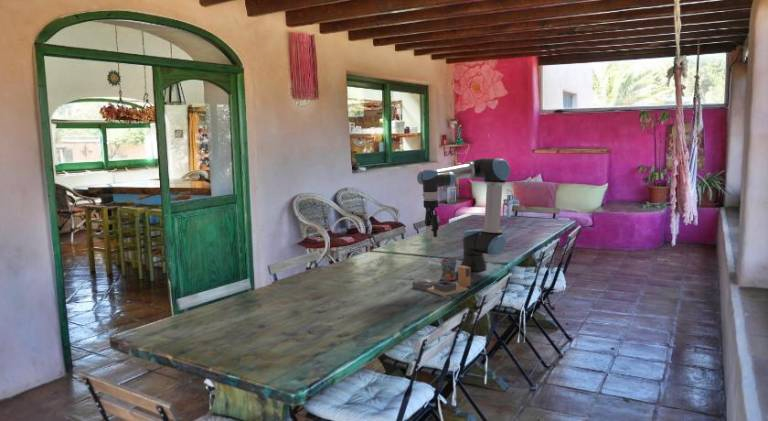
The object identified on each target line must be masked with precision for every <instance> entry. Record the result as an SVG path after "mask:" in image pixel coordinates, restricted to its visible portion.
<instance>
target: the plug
mask: <svg viewBox="0 0 768 421" xmlns="http://www.w3.org/2000/svg"><path fill="white" fill-rule="evenodd" d="M457 269H458V270H457V271H458V272H457V274H458V275H457V277H458V279H457V280H458V282H457V283H458V284H457V285H459V286H463V287H466V288H468V287H471V286H472V285H471V281H472V279H471V278H472V277H471V271H470V267H468V266H461V265H460V266H458V268H457Z"/></svg>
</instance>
